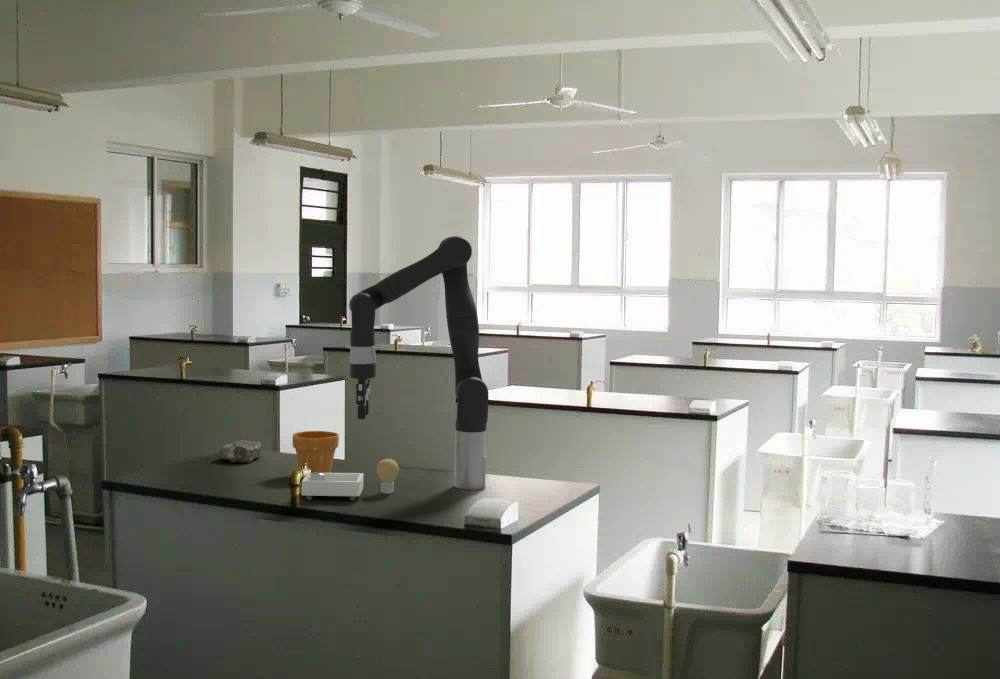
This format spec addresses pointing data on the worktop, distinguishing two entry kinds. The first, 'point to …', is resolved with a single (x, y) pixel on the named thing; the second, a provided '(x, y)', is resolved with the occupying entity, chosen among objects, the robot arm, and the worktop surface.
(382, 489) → the amber frosted bulb
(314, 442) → the flower pot
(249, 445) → the rock
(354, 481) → the tray
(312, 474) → the grey rounded piece
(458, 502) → the worktop surface
